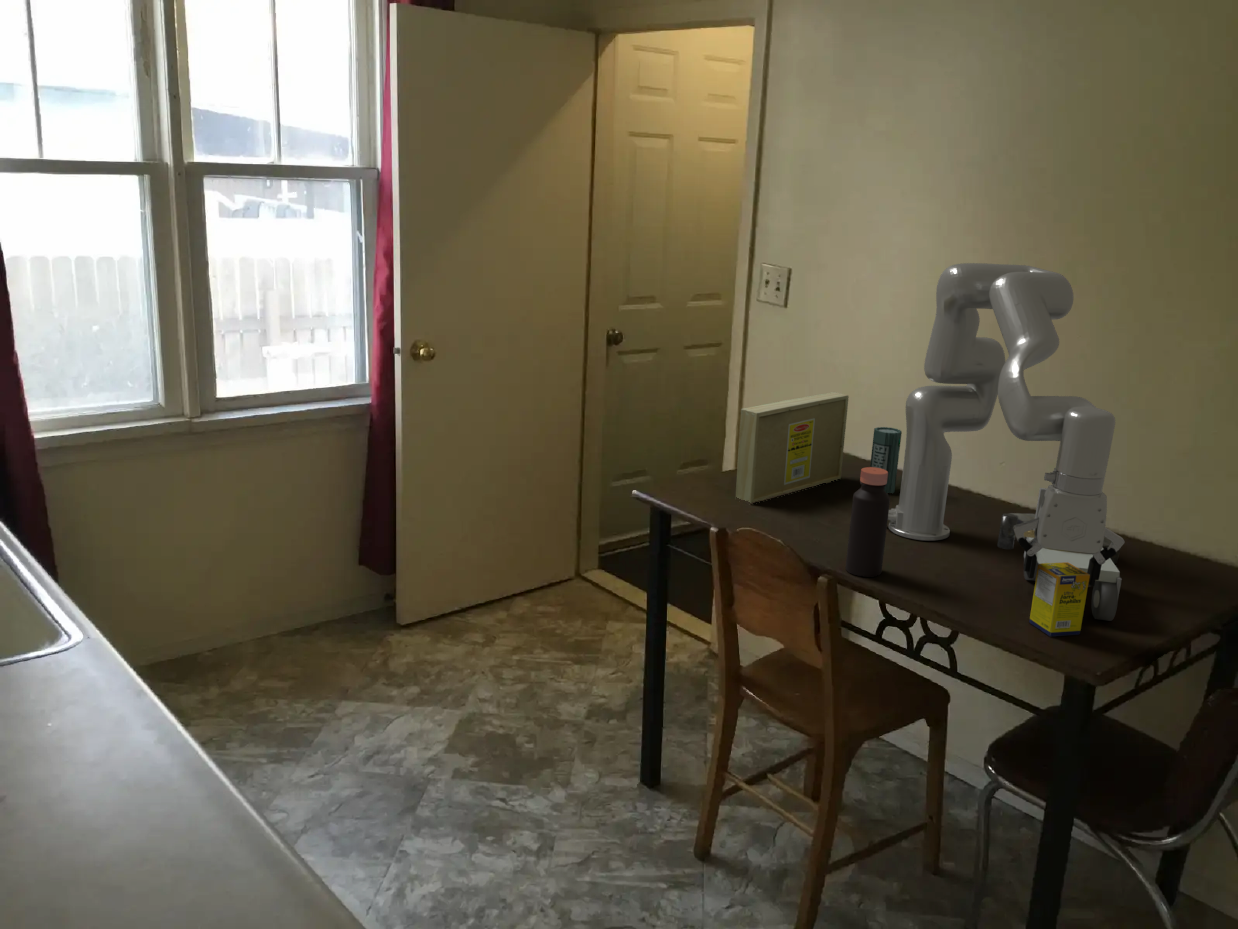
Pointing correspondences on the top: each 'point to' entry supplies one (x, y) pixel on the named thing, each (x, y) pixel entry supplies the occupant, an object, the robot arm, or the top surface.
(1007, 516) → the hammer
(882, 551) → the bottle
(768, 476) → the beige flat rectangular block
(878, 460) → the can
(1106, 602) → the trolley
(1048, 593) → the supplement box
